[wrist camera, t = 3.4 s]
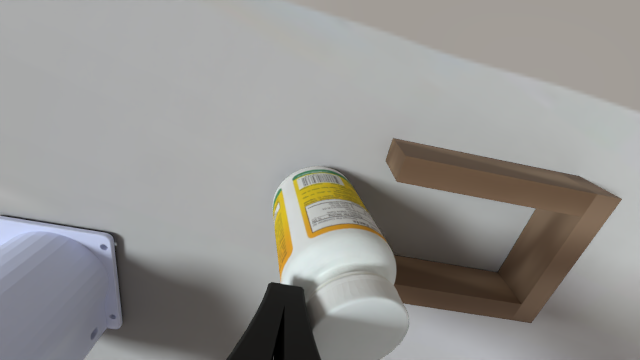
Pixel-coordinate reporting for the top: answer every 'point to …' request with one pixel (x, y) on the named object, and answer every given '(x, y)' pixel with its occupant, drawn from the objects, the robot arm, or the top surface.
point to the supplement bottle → (338, 266)
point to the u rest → (529, 250)
